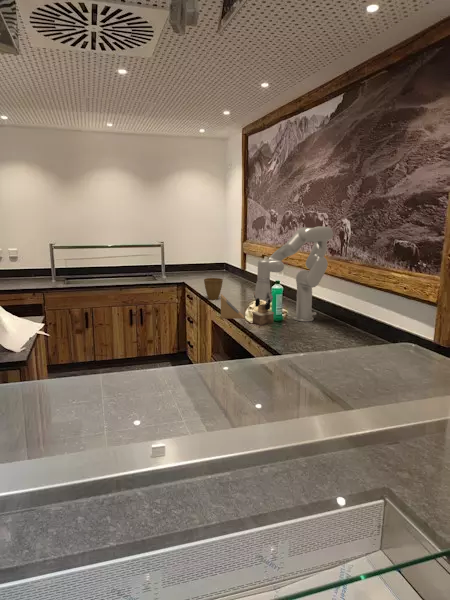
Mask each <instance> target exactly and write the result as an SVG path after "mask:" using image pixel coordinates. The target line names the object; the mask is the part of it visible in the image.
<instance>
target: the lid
mask: <svg viewBox="0 0 450 600" xmlns="http://www.w3.org/2000/svg"><path fill="white" fill-rule="evenodd" d="M265 305H266V303H262V304H260V305H258V307H257V309H258V310H257V311H256V310H255V311H251V314H252V315H253V314H256V315H259V316H263V315H269V314H273V315H274V314H275V312H274V311H271V310H269V309H268V310H266V309H265Z"/></svg>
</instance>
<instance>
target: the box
mask: <svg viewBox="0 0 450 600" xmlns="http://www.w3.org/2000/svg"><path fill="white" fill-rule="evenodd" d="M252 324H255V325H258V326H265V325H270V324H274V314H269V315H263V316H259V315H256V314H253V313H252Z"/></svg>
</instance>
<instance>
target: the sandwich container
mask: <svg viewBox="0 0 450 600" xmlns="http://www.w3.org/2000/svg"><path fill="white" fill-rule="evenodd" d="M220 319H245V316H244V315H243V314H242V313H241V311H239V310H238V309H237V307H235V306H234V305H233V304H232V303H231V302H230V301H229V300H228V299H227V298H226V297H225V296H224V295H223V294H222V293H220Z"/></svg>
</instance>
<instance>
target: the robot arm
mask: <svg viewBox="0 0 450 600" xmlns="http://www.w3.org/2000/svg"><path fill="white" fill-rule="evenodd" d="M333 237H334V232H333V229H332V228H331V227H329V226H322V225H321V226H319V225H318V226H315V227H300V228H298V230H296V232H295V233H294V234H293V235H292V236H291V237H290V238H289V239H288V241H287V242H286V243H284V244H283V245H281V247H279V248H278V249H277V250H275V251H274V252H273V253H272V254H271V255H270V256H269V258H268V259H260V260H258V262H257V277H256V278H257V280H256V283H255V288H254V292H253V295H254V296H253V297H254V302H255V303H254V304H255V305H254V306H255V307H256V308H258V305H261V300H262V301H265V304H266V305H265V309H266V310H268V311H269V310H270V309H271V303H272V301H273V299H274V298H273V297H274V296H273V295H272V294H271V293H272V292H271V283H270V282H271V273H280V272H282V271H283V270H284V268H285V264H284V263H283V260H285V259H286V258H288V257H290V256H293V255H295V254H297V253H298V252H299V250H300V249H301V248H302V247H303V246H304V245H305V243H313V246H312V249H311V251H310V253H309V255H308V256H307V258H306V260H305V267H306V268H307V270H306V269H301V270H300V271H298V272H297V274H296V277H295V282H296V307H295V308H296V310H295V313H296V314H295V316H293V320H294V321H297V322H302V323H303V322H312V321H314V319H315V318H314V317H313V316H316V315H317V312H316V311H312V306H313V305H312V304H313V302H312V301H313V288H315V287H317V286H319V283H321V281H322V279H323V277H324V275H325V273H326V271H327V269H328V260H327V258H326V257H325V255H326V253H327V251H328V243H327V242H328V241H330V240H332V238H333Z"/></svg>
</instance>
